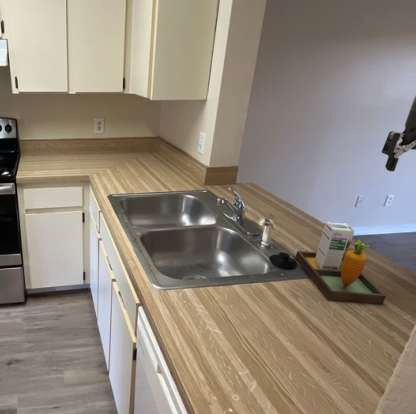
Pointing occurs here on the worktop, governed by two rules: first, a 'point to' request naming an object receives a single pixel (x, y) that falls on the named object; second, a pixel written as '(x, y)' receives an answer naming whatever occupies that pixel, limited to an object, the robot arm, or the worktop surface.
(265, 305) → the worktop surface
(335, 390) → the worktop surface
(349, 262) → the carrot
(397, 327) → the worktop surface
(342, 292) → the sorting tray
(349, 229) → the syrup box
